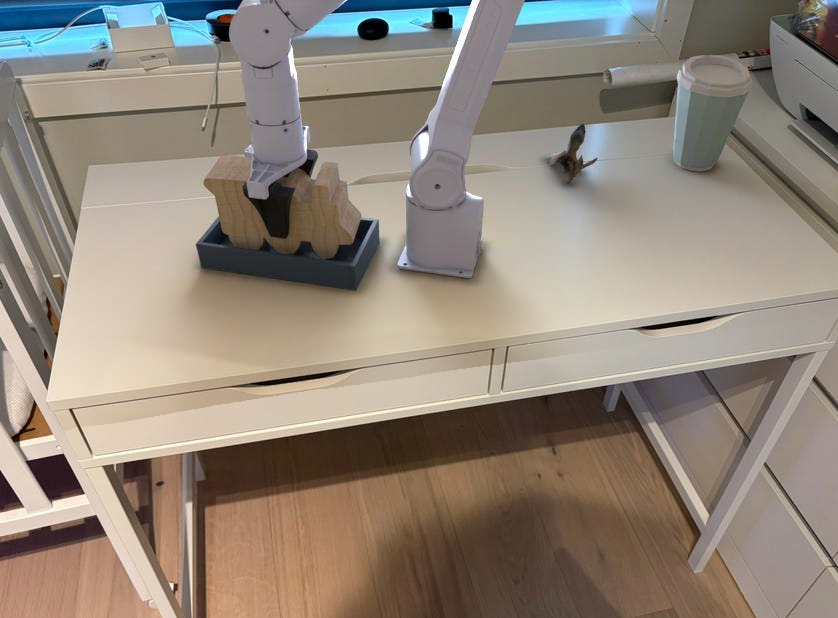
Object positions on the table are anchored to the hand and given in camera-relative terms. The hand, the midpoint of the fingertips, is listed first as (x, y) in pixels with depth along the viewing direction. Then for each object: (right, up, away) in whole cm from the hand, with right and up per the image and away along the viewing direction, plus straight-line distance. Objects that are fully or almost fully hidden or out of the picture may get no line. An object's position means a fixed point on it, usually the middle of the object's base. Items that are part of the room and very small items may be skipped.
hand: (288, 222), depth 89 cm
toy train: (0, -2, +2) cm, 3 cm away
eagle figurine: (+38, +12, +22) cm, 45 cm away
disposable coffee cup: (+58, +14, +26) cm, 65 cm away
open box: (0, -4, +3) cm, 5 cm away
